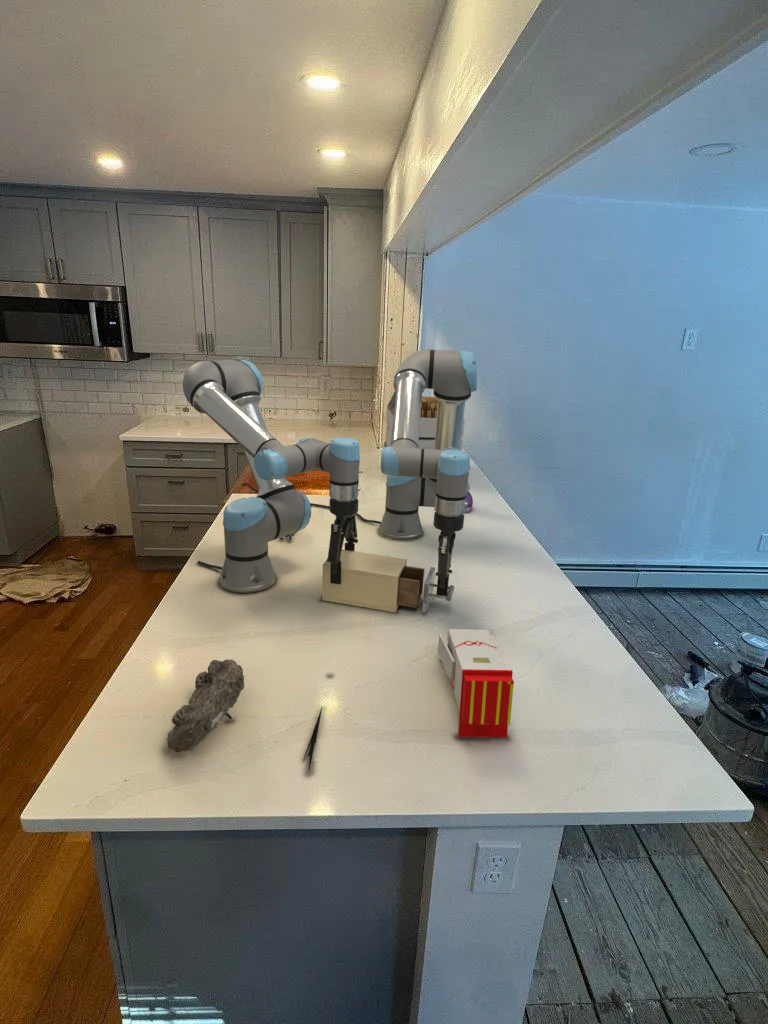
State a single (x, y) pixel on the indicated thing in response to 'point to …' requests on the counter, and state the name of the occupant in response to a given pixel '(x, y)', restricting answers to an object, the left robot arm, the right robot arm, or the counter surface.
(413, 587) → the drawer
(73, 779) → the counter surface
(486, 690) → the toy
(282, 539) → the figurine character
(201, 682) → the fossil
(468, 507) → the figurine
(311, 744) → the feather
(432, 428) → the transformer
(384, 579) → the cabinet
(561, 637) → the counter surface
